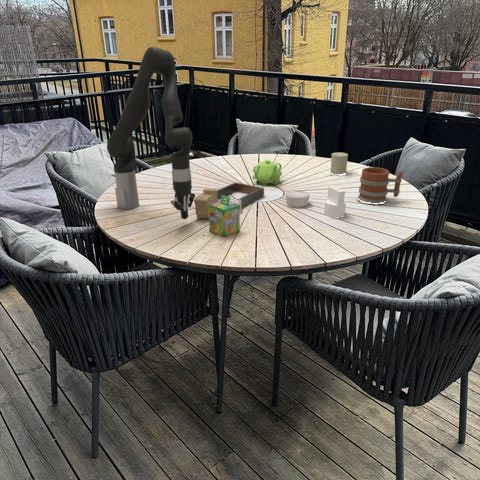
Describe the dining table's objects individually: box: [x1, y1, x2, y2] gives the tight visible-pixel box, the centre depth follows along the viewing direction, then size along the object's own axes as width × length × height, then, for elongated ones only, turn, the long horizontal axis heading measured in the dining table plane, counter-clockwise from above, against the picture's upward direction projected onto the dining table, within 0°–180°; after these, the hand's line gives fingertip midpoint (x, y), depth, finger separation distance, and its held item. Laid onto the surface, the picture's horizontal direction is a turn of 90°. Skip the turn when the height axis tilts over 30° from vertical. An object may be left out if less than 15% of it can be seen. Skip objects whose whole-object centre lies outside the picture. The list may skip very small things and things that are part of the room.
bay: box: [199, 181, 265, 214], centre depth 204 cm, size 26×24×4 cm
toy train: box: [193, 188, 219, 220], centre depth 187 cm, size 6×17×10 cm, turn 166°
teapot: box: [252, 159, 283, 187], centre depth 227 cm, size 16×14×13 cm
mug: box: [357, 166, 403, 203], centre depth 198 cm, size 14×19×15 cm
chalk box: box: [208, 195, 241, 238], centre depth 168 cm, size 9×9×15 cm
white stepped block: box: [323, 185, 347, 217], centre depth 183 cm, size 9×9×12 cm
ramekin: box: [285, 190, 311, 208], centre depth 197 cm, size 11×11×5 cm
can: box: [330, 152, 349, 174], centre depth 241 cm, size 9×9×12 cm
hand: (184, 218), depth 176 cm, fingers closed
